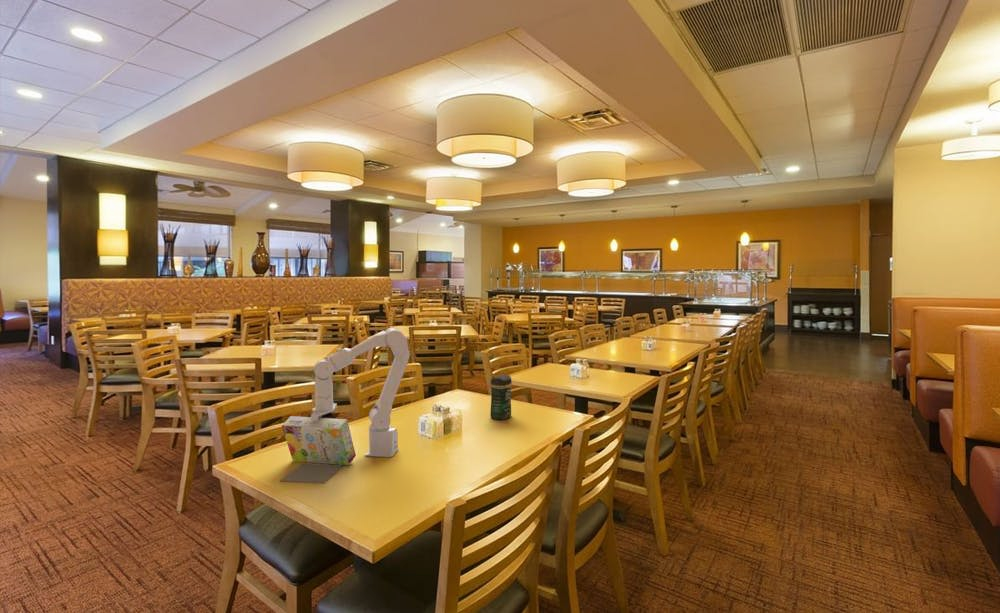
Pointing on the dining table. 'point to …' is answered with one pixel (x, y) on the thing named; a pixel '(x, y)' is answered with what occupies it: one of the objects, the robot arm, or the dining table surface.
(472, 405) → the dining table surface
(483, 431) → the dining table surface
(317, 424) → the snack box
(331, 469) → the mat
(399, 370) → the robot arm
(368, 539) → the dining table surface
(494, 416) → the coffee jar
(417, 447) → the dining table surface
